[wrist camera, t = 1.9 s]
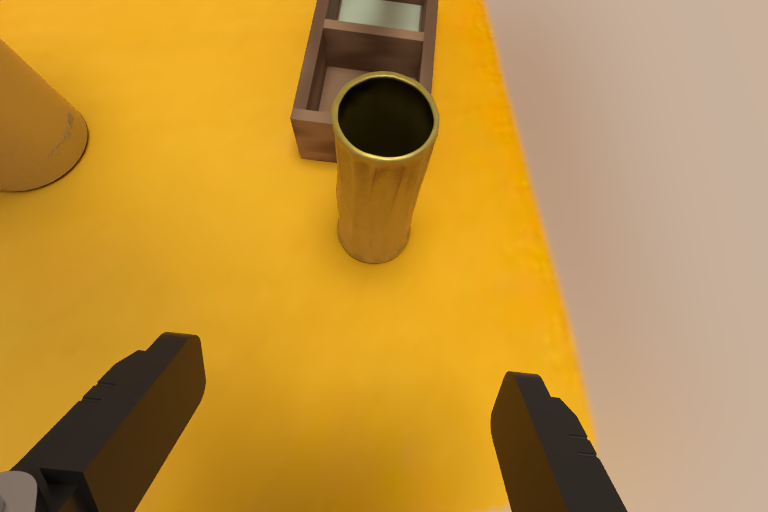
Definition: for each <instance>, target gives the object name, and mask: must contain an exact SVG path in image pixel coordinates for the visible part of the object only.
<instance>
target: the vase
mask: <svg viewBox="0 0 768 512" xmlns="http://www.w3.org/2000/svg"><path fill="white" fill-rule="evenodd" d="M330 115H331V120H332V126H333V130H334V134H335V147H336V157H337V170H338V174H337V186H336V194H337V205H338V212H339V219H338V237H339V240H340V242H341V244H342V246H343V247H344V249H345V250H346V251H347V252H348V253H349V254H350V255H351V256H352V257H354V258H356V259H358V260H360V261H363V262H367V263H382V262H386V261H389V260H391V259H393V258H395V257H396V256H398V255H399V254H400V253H401V252H402V251H403V250H404V248H405V247H406V245H407V243H408V241H409V237H410V229H411V227H410V224H411V219H412V214H413V211H414V208H415V204H416V201H417V198H418V194H419V190H420V187H421V184H422V181H423V178H424V175H425V172H426V169H427V166H428V163H429V160H430V156H431V153H432V150H433V147H434V144H435V141H436V138H437V135H438V129H439V113H438V110H437V107H436V104H435V102H434V99H433V98H432V96H431V95H430V93H429V92H428V91H427V90H426V89H425V87H424V86H422V85H421V84H420V83H419V82H417V81H415V80H413V79H411V78H409V77H407V76H404V75H402V74H399V73H396V72H389V71H377V72H370V73H366V74H363V75H361V76H359V77H357V78H355V79H353V80H351V81H350V82H348V83H347V84H346V85H345V86H343V87H342V89H341V90H340V91H339V93H338V94H337V96H336V98H335V100H334V101H333V103H332V107H331V112H330Z"/></svg>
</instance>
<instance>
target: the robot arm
mask: <svg viewBox="0 0 768 512" xmlns="http://www.w3.org/2000/svg"><path fill="white" fill-rule="evenodd" d="M87 132H88V131H87V127H86V123H85V121H84V119H83V118H82V116H81V114H79V113H78V112H77V111H76V110H75V109H74V108H73V107H72V106H71V105H70V104H69V103H68V102H67V101H66V100H65V99H64V98H63V97H62V96H61V95H59V94H58V93H57V92H56V91H55V90H54V89H53V88H52V87H51V86H50V85H49V84H48V83H47V82H46V81H45V80H44V79H43V78H42V77H41V76H40V75H39V74H38V73H37V72H35V71H34V70H33V69H32V68H31V67H30V66H29V65H28V64H27V63H26V62H25V61H24V60H23V59H22V58H21V57H19V56H18V55H17V54H16V53H15V52H14V51H13V50H12V49H11V48H10V47H9V46H8V45H7V44H6V43H5V42H3V41H2V40H1V39H0V190H4V191H26V190H30V189H35V188H38V187H41V186H44V185H46V184H49V183H51V182H53V181H54V180H56V179H58V178H60V177H61V176H63V175H64V174H65V173H66V172H67V171H69V170H70V169H71V168H72V167H73V166H74V165H75V163H76V162H77V161H78V160H79V158H80V157H81V155H82V153H83V151H84V149H85V146H86V143H87ZM205 384H206V377H205V370H204V363H203V356H202V348H201V342H200V338H199V337H198V336H197V335H191V334H182V333H173V332H165V333H163V334H161V335H160V336H159V337H158V338H157V339H156V341H155V342H154V343H153V344H152V345H151V346H150V347H149V348H148V349H147V350H146V351H141V350H138V351H136V352H134V353H133V354H131V355H129V356H128V357H126V358H124V359H123V360H121V361H119V362H118V363H116V364H115V365H114V366H113V367H112V368H111V369H110V370H109V371H108V372H107V373H106V374H105V375H104V376H103V377H102V378H101V379H100V380H99V381H98V384H97V385H96V386H93V387H92V388H91V389H90V390H89V391H88V392H87V393H86V394H85V395H84V396H83V399H82V401H78V402H77V403H76V404H75V405H74V406H73V407H72V408H71V409H70V410H69V411H68V413H67V414H66V415H65V416H64V417H63V418H62V419H61V420H60V421H59V422H58V423H57V424H56V425H55V426H54V427H53V428H52V429H51V430H50V431H49V432H48V433H47V434H46V435H45V436H44V437H43V438H42V439H41V440H40V441H39V442H38V443H37V444H36V445H35V446H34V447H33V448H32V449H31V450H30V451H29V452H28V453H27V454H26V455H25V456H24V457H23V458H22V459H21V460H20V461H19V462H18V463H17V464H16V465H15V466H14V467H13V468H12V469H11V470H9V471H6V472H1V473H0V512H134V511H135V510H136V508H137V506H138V505H139V503H140V501H141V500H142V498H143V496H144V495H145V493H146V491H147V490H148V488H149V486H150V485H151V483H152V481H153V480H154V478H155V476H156V475H157V473H158V472H159V470H160V468H161V467H162V465H163V463H164V462H165V460H166V458H167V457H168V455H169V453H170V452H171V450H172V448H173V447H174V445H175V443H176V442H177V440H178V438H179V437H180V435H181V434H182V432H183V430H184V429H185V427H186V425H187V424H188V422H189V420H190V419H191V417H192V415H193V414H194V412H195V410H196V409H197V407H198V405H199V404H200V402H201V399H202V397H203V394H204V390H205ZM491 434H492V439H493V443H494V447H495V450H496V454H497V458H498V462H499V465H500V469H501V473H502V477H503V480H504V484H505V488H506V492H507V495H508V499H509V503H510V507H511V510H512V512H627V510H626V508H625V506H624V504H623V502H622V500H621V499H620V497H619V495H618V493H617V491H616V489H615V487H614V485H613V484H612V482H611V480H610V478H609V476H608V474H607V472H606V470H605V469H604V467H603V465H602V463H601V461H600V459H599V458H597V457H596V452H595V450H594V448H593V446H592V444H591V442H590V441H589V440H587V435H586V433H585V431H584V429H583V427H582V425H581V424H580V422H579V420H578V418H577V416H576V415H575V414H574V413H573V412H572V411H571V410H570V409H569V408H568V407H567V406H566V404H565V403H564V402H563V401H562V400H561V399H560V398H555V397H551V396H550V394H549V392H548V390H547V388H546V386H545V384H544V382H543V380H542V378H541V377H540V376H539V375H537V374H529V373H520V372H511V371H508V372H507V373H506V374H505V376H504V379H503V382H502V385H501V387H500V390H499V393H498V396H497V399H496V401H495V404H494V407H493V410H492V414H491Z"/></svg>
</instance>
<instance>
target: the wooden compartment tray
mask: <svg viewBox="0 0 768 512" xmlns="http://www.w3.org/2000/svg"><path fill="white" fill-rule="evenodd" d="M437 10H438V0H317V3H316V8H315V12H314V17H313V21H312V25H311V30H310V34H309V39H308V43H307V48H306V52H305V56H304V61H303V65H302V70H301V74H300V79H299V83H298V87H297V92H296V96H295V101H294V105H293V110H292V114H291V118H290V119H291V123H292V127H293V130H294V134H295V138H296V142H297V145H298V149H299V153H300V156H301V158H304V159H312V160H320V161H328V162H336V163H337V157H336V147H335V134H334V130H333V126H332V120H331V115H330V112H331V107H332V103H333V101H334V100H335V98H336V96H337V94H338V93H339V91H340V90H341V89H342V87H343V86H345V85H346V84H347V83H348V82H350V81H351V80H353V79H355V78H357V77H359V76H361V75H363V74H366V73H370V72H377V71H389V72H396V73H399V74H402V75H404V76H407V77H409V78H411V79H413V80H415V81H417V82H419V83H420V84H421V85H422V86H424V87H425V89H426V90H427V91H428V92H429V93H430V95H431V89H432V76H433V63H434V50H435V37H436V24H437Z"/></svg>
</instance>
